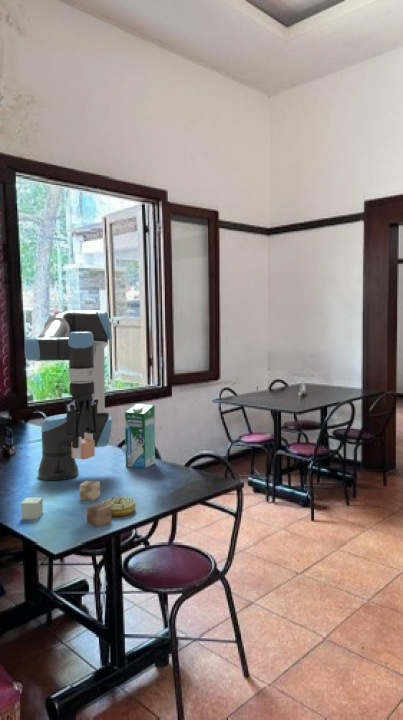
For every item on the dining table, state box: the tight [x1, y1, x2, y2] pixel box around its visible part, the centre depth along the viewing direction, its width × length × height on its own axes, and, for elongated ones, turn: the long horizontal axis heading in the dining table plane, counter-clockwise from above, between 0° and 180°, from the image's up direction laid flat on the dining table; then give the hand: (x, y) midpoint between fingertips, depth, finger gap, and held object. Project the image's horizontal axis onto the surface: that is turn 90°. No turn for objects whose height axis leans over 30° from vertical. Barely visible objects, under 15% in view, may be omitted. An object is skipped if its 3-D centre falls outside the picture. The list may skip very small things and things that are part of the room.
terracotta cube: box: [71, 439, 96, 461], centre depth 160 cm, size 5×5×5 cm
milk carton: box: [124, 403, 156, 470], centre depth 212 cm, size 9×9×25 cm
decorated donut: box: [101, 496, 137, 518], centre depth 161 cm, size 10×11×4 cm
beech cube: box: [79, 480, 101, 501], centre depth 174 cm, size 5×5×5 cm
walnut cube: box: [86, 502, 112, 528], centre depth 152 cm, size 5×5×5 cm
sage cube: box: [20, 497, 44, 520], centre depth 157 cm, size 5×5×5 cm
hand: (83, 455), depth 160 cm, fingers closed on terracotta cube, 5 cm apart
